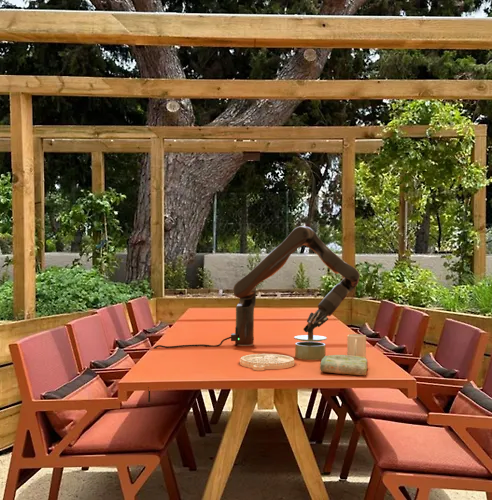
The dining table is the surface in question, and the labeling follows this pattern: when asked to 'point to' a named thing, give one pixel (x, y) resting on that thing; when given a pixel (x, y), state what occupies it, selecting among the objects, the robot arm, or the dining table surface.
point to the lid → (310, 336)
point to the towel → (344, 364)
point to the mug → (356, 345)
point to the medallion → (266, 361)
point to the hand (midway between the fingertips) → (306, 331)
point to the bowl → (310, 350)
